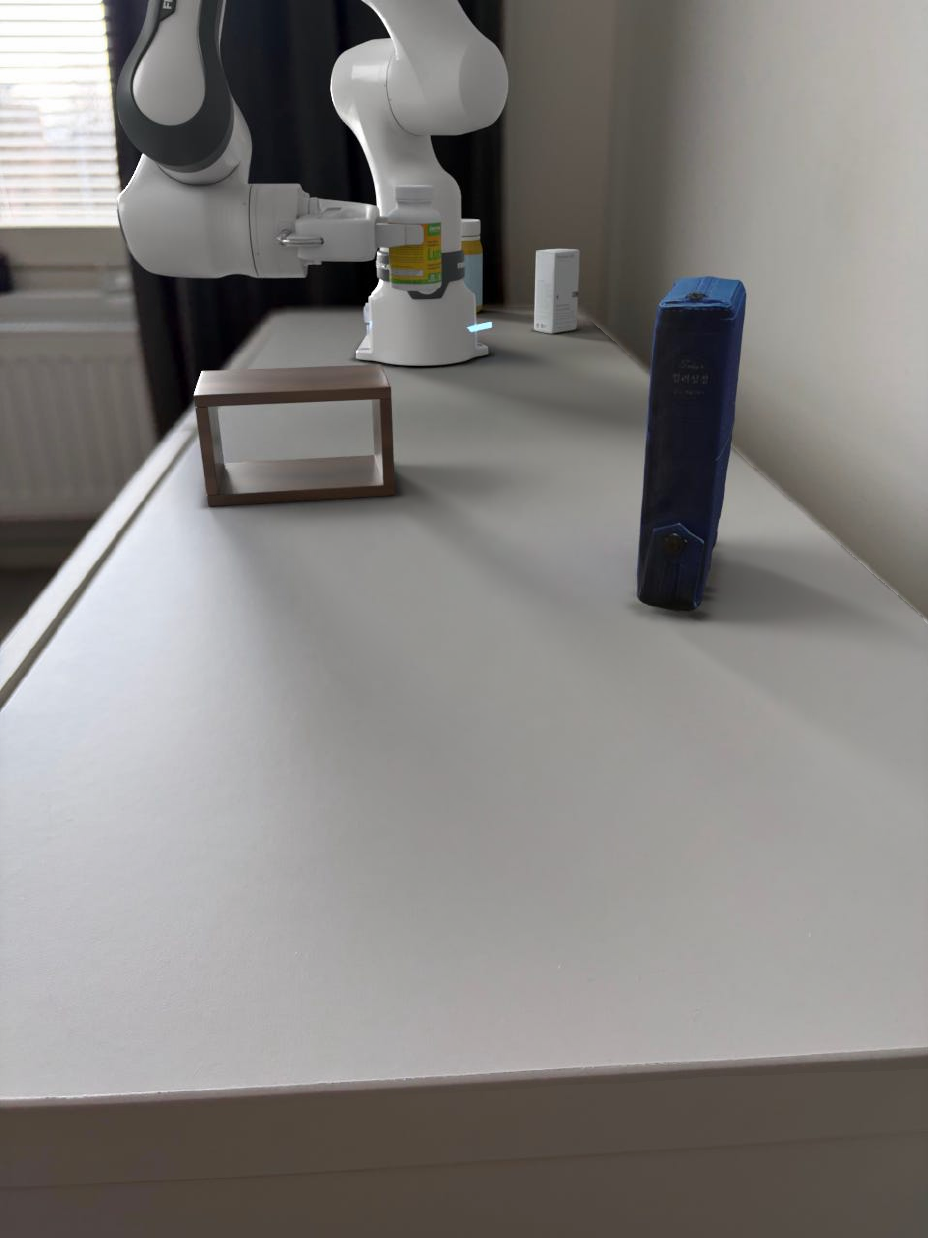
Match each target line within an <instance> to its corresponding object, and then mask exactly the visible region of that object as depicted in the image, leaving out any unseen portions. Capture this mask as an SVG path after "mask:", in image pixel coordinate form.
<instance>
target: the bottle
mask: <svg viewBox="0 0 928 1238" xmlns="http://www.w3.org/2000/svg"><path fill="white" fill-rule="evenodd" d="M461 249H462V250H463V251H464V258H465V277H464V278H463V281H464V283H465V285H466V286H467V287H468V288H469V289H470V290H471V291H472V293H474V294H475V299H476V314H477V313H480V312H481V310H482V308H483V276H484V275H483V271H484V270H483V269H484V268H483V267H484V266H483V263H484V261H483V260H484V257H483V255H484V253H483V245H482V243H481V220H480V219H475V218H461Z"/></svg>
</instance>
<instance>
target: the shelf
mask: <svg viewBox="0 0 928 1238" xmlns="http://www.w3.org/2000/svg"><path fill="white" fill-rule="evenodd" d="M368 400H369V401H370V400H371V406H372V407H371V409H372V426H373V427H372V428H373V429H372V431H373V432H372V433H373V450H374V451H373V452H374V453H373V454H372V455H371V454H368V455H352V456H334V457H333V456H330V457H314V458H313V457H311V458H295V459H278V460H277V459H275V460H274V459H273V460H255V461H240V462H239V461H237V462H225V460H224V453H223V451H224V450H223V444H222V443H223V442H222V435H221V426H220V418H219V417H220V416H219V410H218V407H233V406H236V407H237V406H259V405H278V404H279V405H282V404H302V403H303V404H304V403H306V404H307V403H325V402H347V401H348V402H349V401H350V402H351V401H368ZM193 402H194V407H195V417H196V424H197V425H196V426H197V432H198V439H199V448H200V455H201V463H202V471H203V479H204V486H205V494H206V501H207V502H206V503H207V506H208V507H219V506H220V507H221V506H235V505H236V506H237V505H238V506H239V505H252V504H255V505H256V504H270V503H272V504H273V503H285V502H286V503H287V502H289V503H290V502H304V501H305V502H306V501H320V500H337V499H338V500H339V499H355V498H372V497H386V496H387V497H388V496H390V497H391V496H395V495H396V485H395V484H396V483H395V482H396V481H395V480H396V479H395V456H394V454H395V453H394V427H393V425H394V424H393V400H392V386H391V383H390V382H389V380H388V377H387V375H386V373H385V370H384V368H383V365H382V364H381V363H380V364H379V363H376V364H354V365H353V364H351V365H350V364H349V365H329V366H328V365H327V366H304V367H278V368H277V367H274V368H273V367H272V368H252V369H250V368H249V369H228V370H227V369H225V370H223V369H222V370H202V371H201V373H200V376H199V378H198V381H197V384H196V388H195V391H194V394H193Z"/></svg>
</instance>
